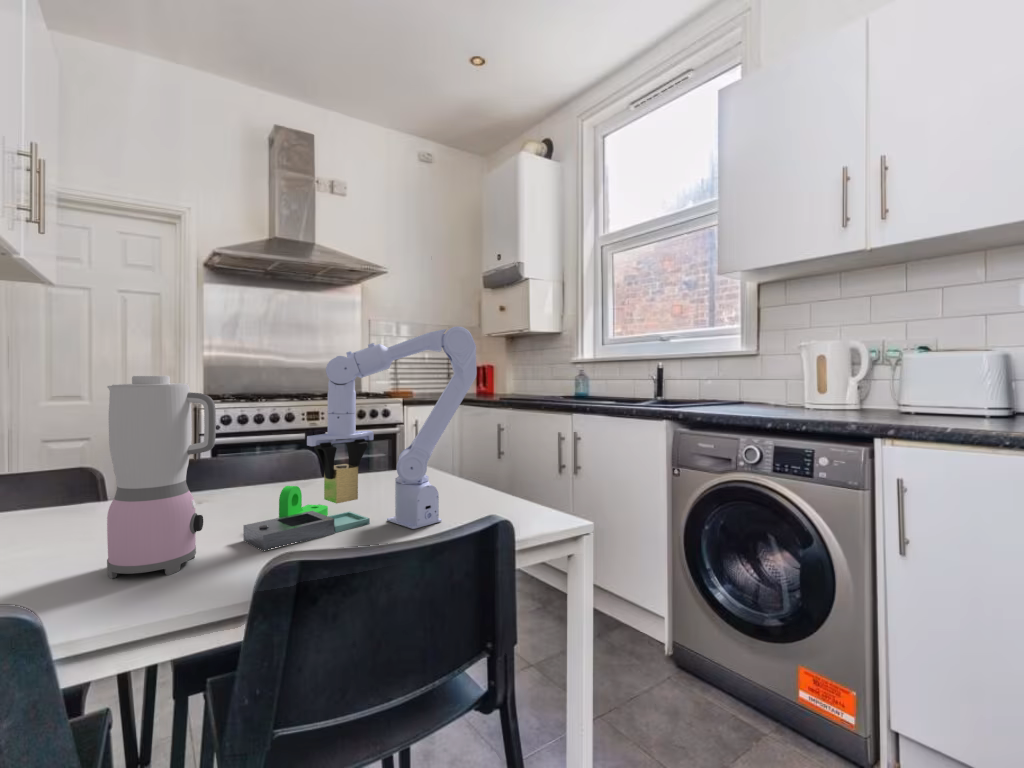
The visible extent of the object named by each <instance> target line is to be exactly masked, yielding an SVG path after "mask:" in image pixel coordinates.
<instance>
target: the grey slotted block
mask: <svg viewBox="0 0 1024 768" xmlns="http://www.w3.org/2000/svg"><path fill="white" fill-rule="evenodd" d="M328 516H329V515H327V516H325V515H323V514H320V513H317V512H315V511H309V512H304V513H299V514H294V515H290V516H285V517H280V518H279V517H277V518H271V519H267V520H263V521H257V522H252V523H247V524H243V529H242V530H243V542H245V541H246V542H245V543H247V542H248V544H249V545H251V546H252V545H253V546H252V547H254V546H255V547H254V548H256V547H257V548H256V549H258V548H259V549H258V550H260V549H261V550H263V551H264V550H268V549H271V548H275V547H279V546H283V545H287V544H291V543H295V542H299V543H301V542H300V541H303V542H307V541H311V540H315V539H317V538H318V539H319V538H323V537H327V536H330V535H335V532H334V519H333V518H331V517H328ZM306 540H307V541H306ZM295 544H296V543H295ZM261 550H260V551H261ZM263 551H262V552H263ZM268 551H269V550H268ZM264 552H265V551H264Z"/></svg>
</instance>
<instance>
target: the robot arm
mask: <svg viewBox="0 0 1024 768" xmlns="http://www.w3.org/2000/svg"><path fill="white" fill-rule="evenodd" d="M367 346H368V347H365V348H363V349H360V350H357V351H354V352H352V350H349V351H347V352H346V353H345V354H346V356H344V355H336V357H333V358H331V359H330V360H329V361H328V362H327V364H326V367H325V372H326V377H327V378H328V383H327V387H328V391H327V433H322V434H315V435H307V436H306V446H309V447H313V448H314V449H313V450H314V451H315V453H316V455H317V456H318V458H319V459H320V463H321V466H322V469H323V471H324V473H325V478H327V479H333V476H334V465H335V458H336V452H337V450H338V449H337V447H335V446H333V444H343V443H345V445H346V449H347V454H348V455H347V456H348V465H353V466H357V467H358V469H359V468H360V463H361V461H362V460H363V459H362V458H363V456H364V454H365V452H366V450H367V449H368V447H369V442H367V441H374V436H375V435H374V434H375V433H374V431H372V430H358V431H357V429H356V425H357V423H356V422H357V420H356V419H357V418H356V417H357V414H356V413H357V412H356V411H357V409H356V408H357V403H356V402H357V391H356V379H357V378H360V379H363V378H366V377H368V376H369V377H370V376H372V375H374V374H378V373H379V372H380V373H381V372H384V371H386V370H389V369H390V368H391V366H392V364H393V361H397V360H399V359H402V358H406V357H409V356H413V355H416V354H420V353H423V352H425V351H432V352H437V353H441V352H442V350H443V352H444V353H445V355H446V356H447V357H448V359H449V360H450V365H451V368H452V371H453V372H452V373H453V374H452V376H451V378H450V380H449V381H448V383H447V385H446V386H445V388H444V390H443V391H442V393H441V395H440V396H439V398H438V400H437V401H436V403H435V404H434V406H433V407H432V409H431V411H430V413H429V414H428V416H427V418H426V420H425V421H424V423H423V425H422V427H421V428H420V430H419V432H418V433H417V435H416V436H415V437H414V439H413V440H412V442H411V444H410V445H409V446H408V447H406V448H405V449H403V450H402V451H401V452H400V454H399V456H398V459H397V464H396V473H397V477H395V478H394V479H395V481H394V488H395V491H394V494H395V495H394V497H395V498H394V499H395V500H394V507H395V509H394V515H395V516H391V517H387V518H386V521H387V522H390V523H394V524H396V525H399V526H402V527H405V528H409V529H412V530H415V529H419V528H423V527H425V526H430V525H433V524H436V523H441V522H442V518H440V517H439V512H440V511H439V510H440V509H439V503H440V502H439V498H440V497H439V491H438V489H437V487H436V486H434V485H433V484H431V483H430V480H429V478H430V477H429V476H428V475H427V474H426V473H427V470H428V463H429V460H430V458H431V457H432V454H433V452H434V449H435V447H436V445H437V444H438V442H439V440H440V439H441V437H442V435H443V433H444V432H445V430H446V429H447V427H448V425H449V423H450V422H451V420H452V419H453V417H454V415H455V414H456V412H457V410H458V409H459V407H460V405H461V403H462V402H463V400H464V399H465V397H466V395H467V393H468V391H469V390H470V388H471V386H472V385H473V383H474V381H475V380H476V378H477V373H478V372H477V345H476V342H475V340H474V337H473V335H472V333H471V332H470V331H469V330H468V329H467V328H465V327H464V326H452V327H451V328H449V329H448V330H447V328H446V329H439V330H435V331H430V332H426V333H423V334H420V335H418V336H415V337H413V338H411V339H407V340H405V341H402V342H400V343H397V344H393V345H391V346H388V347H387V346H385V345H384V344H381V343H377V344H375V343H374V342H372V343H368V344H367Z"/></svg>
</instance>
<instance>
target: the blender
mask: <svg viewBox="0 0 1024 768" xmlns="http://www.w3.org/2000/svg"><path fill="white" fill-rule="evenodd" d="M131 377H132V378H131V383H113V384H112V385H107V386H106V388H107V389H108V390H109V398H108V399H109V403H108V404H109V405H108V444H109V453H110V457H111V463H112V466H113V467H112V468H113V472H114V476H115V481H116V491H115V495H114V498H113V499H112V501H111V503H110V504H109V508H108V511H107V517H106V519H107V520H106V521H107V522H106V525H107V526H106V527H107V528H106V531H107V533H106V534H107V536H106V538H107V539H106V540H107V559H106V570H107V575H108V577H109V579H115V578H117V575H118V574H125V575H126V574H143V573H149V572H155V571H161V570H164V575H166V576H170V575H172V574H176V573H178V572H179V571H181V567H182V566H181V565H182V564H184V563H185V562H187V561H190V560H192V559H195V557H196V554H197V544H196V543H197V542H196V540H197V539H196V538H197V537H196V533H197V532H200V531H202V530H203V528H204V517H203V514H198V513H197V512H196V505H197V504H196V501H195V498H194V496H193V494H192V493H191V491H190V489H189V487H188V484H187V471H188V467H189V463H190V462H189V461H190V457H191V455H195V454H196V455H197V454H201V453H205V452H209V451H210V450H212V449H213V448H214V447H215V444H216V434H217V433H216V428H217V423H216V420H217V417H216V411H217V410H216V403H215V401H214V400H213V399H212V397H211V396H209V395H207V394H206V393H205V394H204V393H200V392H191V388H190V385H189V384H188V383H179V382H178V383H176V382H175V383H173V382H172V383H171V377H170V375H132V376H131ZM192 403H193V404H200V405H202V406H203V410H204V411H203V415H204V416H203V417H204V418H203V419H204V420H203V421H204V422H203V423H204V425H203V427H204V429H203V432H204V433H203V441H202V442H198V443H194V444H192V441H193V440H192V439H193V436H192V434H193V433H192V431H193V429H192V427H193V426H192V425H193V424H192V420H193V419H192Z"/></svg>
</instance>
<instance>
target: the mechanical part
mask: <svg viewBox="0 0 1024 768" xmlns="http://www.w3.org/2000/svg"><path fill="white" fill-rule="evenodd" d="M302 497H303V495H302V490H301V487H299V486H297V485H285V486H284V487H283V488H282V489H281V491H280V494H279V497H278V499H279V500H278V518H280V517H285V516H290V515H294V514H299V513H304V512H309V511H315V512H317V513H320V514H323V515H325V516H329V515H328V514H329V511H328V510H329V507H328V505H326V504H307V505H304V506H302V503H303V502H302V500H303V498H302Z"/></svg>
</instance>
